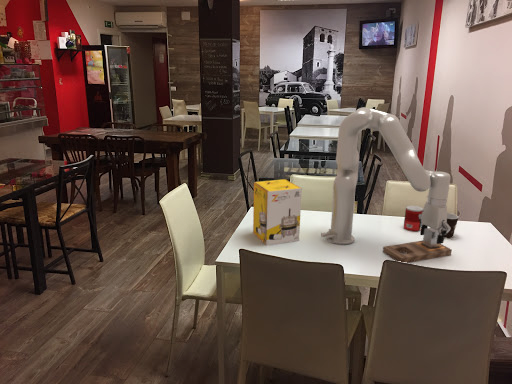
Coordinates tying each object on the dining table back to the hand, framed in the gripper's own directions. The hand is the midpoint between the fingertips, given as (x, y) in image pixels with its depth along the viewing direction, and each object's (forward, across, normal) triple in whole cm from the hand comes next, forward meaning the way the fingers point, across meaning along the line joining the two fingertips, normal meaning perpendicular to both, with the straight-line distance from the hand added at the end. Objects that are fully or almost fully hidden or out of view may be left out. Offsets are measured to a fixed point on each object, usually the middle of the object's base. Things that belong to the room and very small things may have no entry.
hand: (431, 238), depth 179 cm
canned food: (+6, -24, +11) cm, 27 cm away
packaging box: (+6, -37, -57) cm, 68 cm away
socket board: (+6, 0, -7) cm, 9 cm away
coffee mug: (+6, -12, +22) cm, 26 cm away
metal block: (+6, 0, 0) cm, 6 cm away
